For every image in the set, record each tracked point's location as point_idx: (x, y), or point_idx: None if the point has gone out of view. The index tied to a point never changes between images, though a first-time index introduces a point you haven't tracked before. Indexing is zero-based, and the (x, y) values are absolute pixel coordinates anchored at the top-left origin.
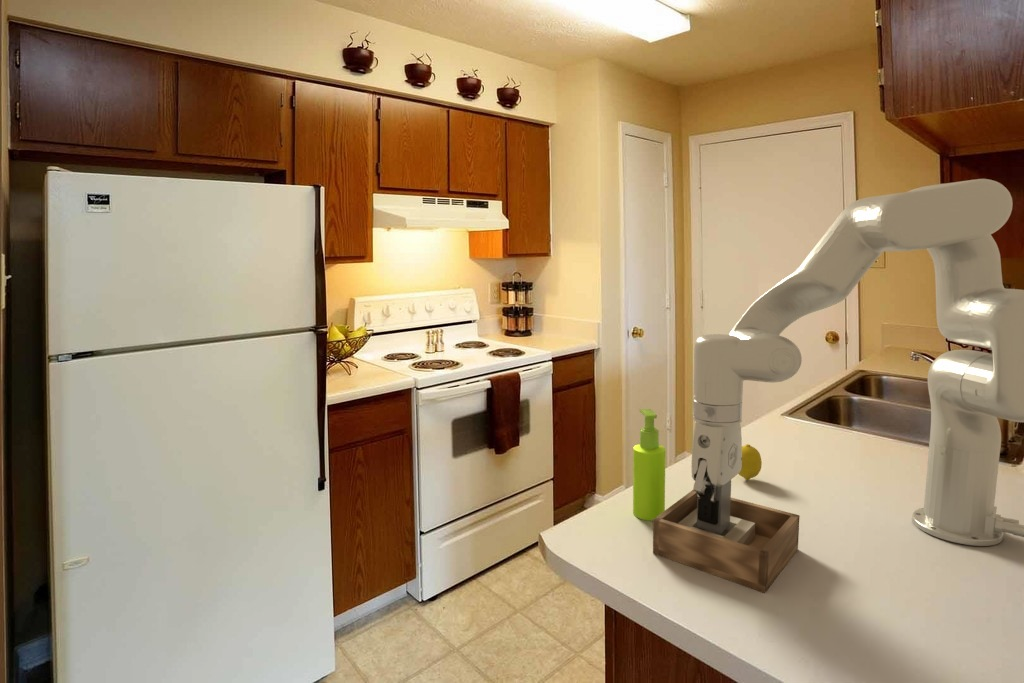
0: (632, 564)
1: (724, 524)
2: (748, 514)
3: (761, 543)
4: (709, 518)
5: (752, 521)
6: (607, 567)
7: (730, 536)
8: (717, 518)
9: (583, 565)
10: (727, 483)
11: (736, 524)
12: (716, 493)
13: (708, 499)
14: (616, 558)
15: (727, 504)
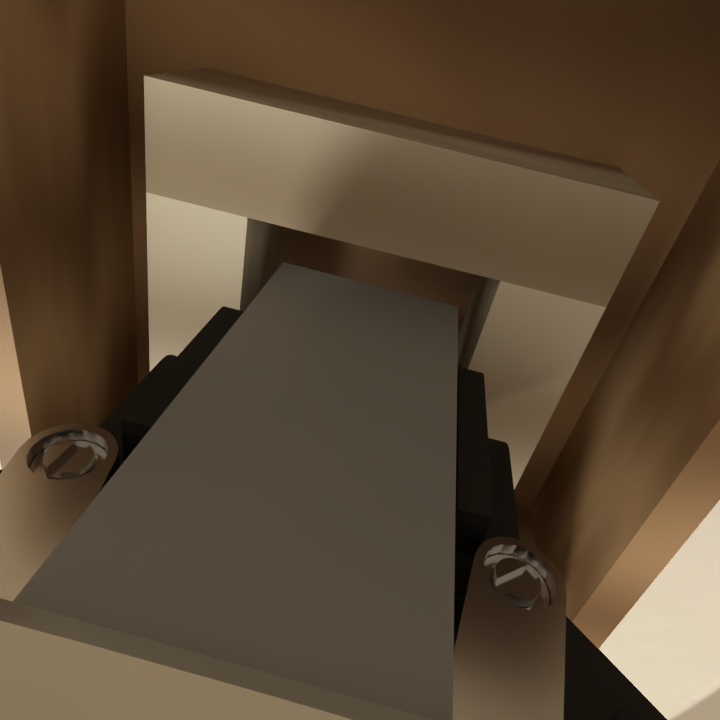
0: (668, 563)
1: (379, 307)
2: (49, 152)
3: (236, 8)
4: (505, 448)
5: (77, 109)
6: (715, 625)
7: (483, 236)
8: (471, 394)
9: (717, 679)
10: (212, 591)
11: (258, 219)
12: (482, 621)
13: (571, 631)
14: (632, 608)
15: (288, 376)
